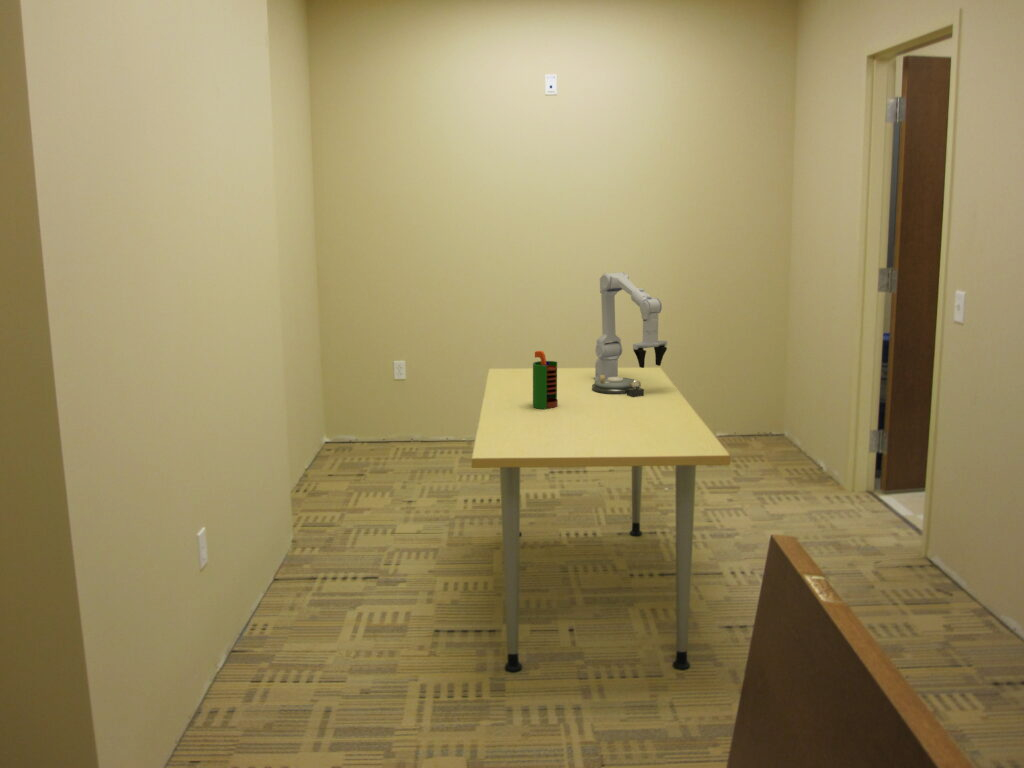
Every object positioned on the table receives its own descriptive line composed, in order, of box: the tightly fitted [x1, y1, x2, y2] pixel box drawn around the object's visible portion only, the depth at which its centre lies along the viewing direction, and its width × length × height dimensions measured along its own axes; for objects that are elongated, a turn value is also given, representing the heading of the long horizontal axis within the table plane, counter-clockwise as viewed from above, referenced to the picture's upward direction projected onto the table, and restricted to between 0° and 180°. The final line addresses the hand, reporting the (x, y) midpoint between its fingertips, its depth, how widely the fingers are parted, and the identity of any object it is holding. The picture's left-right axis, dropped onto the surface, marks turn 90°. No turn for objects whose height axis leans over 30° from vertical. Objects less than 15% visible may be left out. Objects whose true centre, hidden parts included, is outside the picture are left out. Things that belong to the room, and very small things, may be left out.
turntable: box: [594, 375, 635, 389], centre depth 348 cm, size 16×16×4 cm
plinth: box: [591, 382, 629, 395], centre depth 349 cm, size 18×18×2 cm
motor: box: [532, 350, 559, 410], centre depth 322 cm, size 10×9×20 cm
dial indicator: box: [626, 379, 645, 398], centre depth 338 cm, size 5×5×6 cm
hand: (649, 366), depth 341 cm, fingers open, 7 cm apart
